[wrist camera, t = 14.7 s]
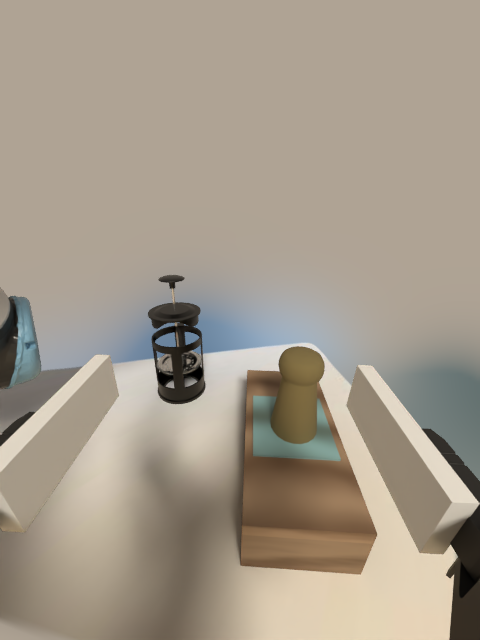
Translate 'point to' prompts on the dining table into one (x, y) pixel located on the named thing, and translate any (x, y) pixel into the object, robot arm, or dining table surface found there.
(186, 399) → the french press
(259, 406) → the wooden block
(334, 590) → the dining table surface
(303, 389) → the cork
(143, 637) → the dining table surface
